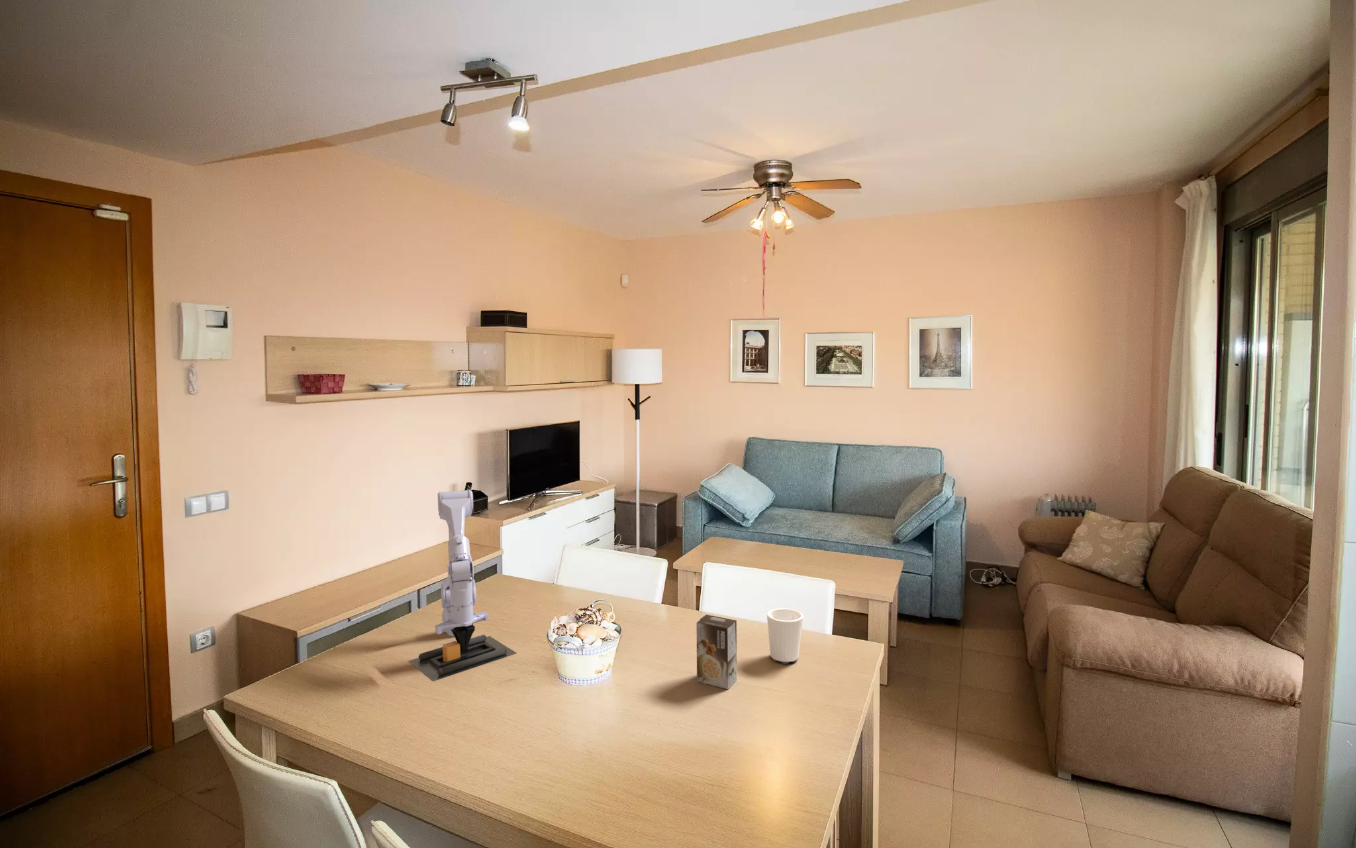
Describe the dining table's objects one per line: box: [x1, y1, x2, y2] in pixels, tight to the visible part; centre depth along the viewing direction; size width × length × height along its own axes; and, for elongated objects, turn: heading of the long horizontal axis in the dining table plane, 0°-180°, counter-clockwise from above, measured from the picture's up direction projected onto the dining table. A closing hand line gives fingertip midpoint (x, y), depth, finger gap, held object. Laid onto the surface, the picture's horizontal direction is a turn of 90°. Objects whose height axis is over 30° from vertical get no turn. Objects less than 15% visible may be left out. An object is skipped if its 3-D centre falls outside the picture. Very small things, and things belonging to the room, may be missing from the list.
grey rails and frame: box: [418, 634, 507, 675], centre depth 186 cm, size 14×20×2 cm
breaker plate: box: [408, 635, 518, 682], centre depth 186 cm, size 16×24×2 cm, turn 133°
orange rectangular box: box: [442, 640, 460, 662], centre depth 183 cm, size 3×4×4 cm
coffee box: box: [695, 614, 738, 690], centre depth 174 cm, size 9×6×16 cm
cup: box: [766, 607, 804, 665], centre depth 187 cm, size 10×10×13 cm
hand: (463, 651), depth 186 cm, fingers closed
